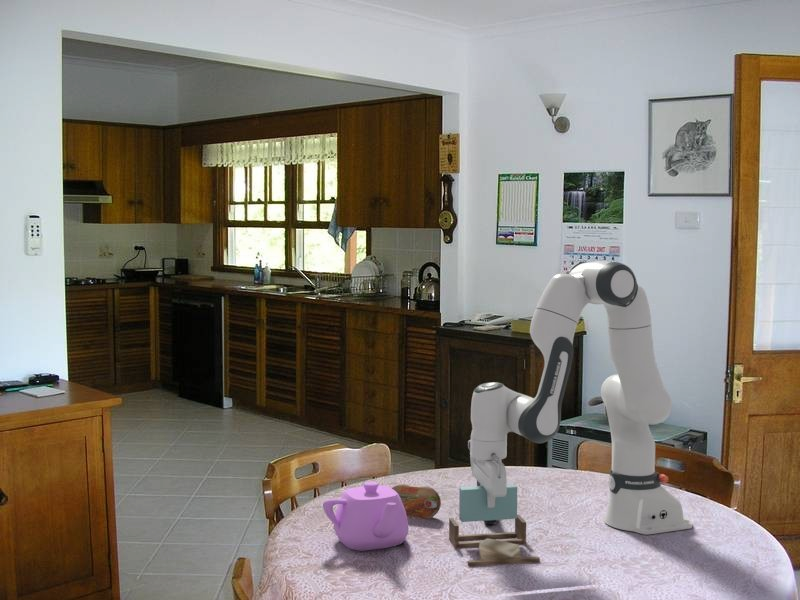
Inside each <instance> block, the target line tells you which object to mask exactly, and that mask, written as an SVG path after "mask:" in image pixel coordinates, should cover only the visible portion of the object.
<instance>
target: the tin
mask: <svg viewBox="0 0 800 600" xmlns="http://www.w3.org/2000/svg"><path fill="white" fill-rule="evenodd" d="M391 488H392V489H393V490H395V491H396V492H397V493H398V494H399V496H400V498H401V501H402V503H403V506H404V508H405V511H406V515H407V518H413V517H414V518H415V519H420V518H421V519H423V520H430V519H432V518H433V517H434V516H435V515H437V514H438V512H439V511H440V509H441V505H442V502H441V501H442V500H441V496H440V495H439V493H438V491H436V490H435V488H433V487H429V486H423V485H412V484H405V483H404V484H403V483H402V484H397V485H395V486H393V487H391Z"/></svg>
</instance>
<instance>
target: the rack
mask: <svg viewBox="0 0 800 600" xmlns="http://www.w3.org/2000/svg"><path fill="white" fill-rule="evenodd" d="M448 521H449V522H448V541H450V543H451V545H452V546H453V548H454V549H455V548H456V549H458V548H475V547H476V548H477V547H478V548H479V543H481V542H482V541H483V540H485V539H486V538H489V539H498V540H499V541H503V542H508V543H513V544H518V545H526V544H527V521H526V520H525V519H524V518H523V517H522V516H521V515H520V514H518V513H517V519H514V531H510V532H493V533H492V532H491V533H473V534H472V533H471V534H459V533H460V530H459V529H460V528H459V527H460V525H459V524H458V523H457V521H456V520H455V518H454V517H449V519H448ZM504 538H510V539H504ZM511 538H513V539H511ZM468 540H469V541H468ZM471 540H476V541H471ZM477 540H479V541H477ZM460 541H461V542H460ZM462 541H463V542H462ZM540 560H541V558H540V557H539V556H526V557H525V556H524V557H521V558H507V559H490V560H480V559H479V560H478V559H476V560H475V559H473V560H467V566H468V567H480V566H497V565H498V566H499V565H513V564H526V563H529V564H530V563H540V562H541V561H540Z"/></svg>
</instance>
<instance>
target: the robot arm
mask: <svg viewBox="0 0 800 600" xmlns="http://www.w3.org/2000/svg"><path fill="white" fill-rule="evenodd" d="M588 304H592V305H603V306H604V308H605V310H606V314H607V318H606V319H607V334H608V336H607V337H608V346H609V348H608V349H609V357H610V359H611V361H612V363H613V364H614V367H615V369H616V372H617V373H615V374H611V375H610V376H608V377H607V378H606V379H605V380H604V381H603V382H602V385H601V386H600V387H601V388H600V396H601V400H602V401H603V404H604V406H605V410H606V414H607V420H608V426H609V430H610V437H611V468H609V478H608V479H609V480H608V486H609V499H608V503H607V504H608V505H607V509H606V512H605V515H604V519H603V522H604V523H605V524H607V525H608V526H610V527H611V528H615V529H618V530H621V531H622V530H623V531H629V532H633V533H637V534H640V535H647V536H648V535H654V534H662V533H669V532H675V531H683V530H689V529H690V530H691V529H692V528H693V523H692V521H691V519H690V518H688V516H686V515H684V512H683V511H684V510H683V505H682V502H681V501H680V500H679V499H678V497H676V496H675V495H673V494H672V492H670V490H668V489H666V488H665V487H664V486H663V485H662V484H667V483H668V482H669V477H668V475H665V474H664V473H660V472H658V471H656V469H655V467H656V442H655V439H654V437H653V434H652V433H651V429H650V426H649V425H659V424H661V423H663V422H664V421H665V420H667V419H668V417H669V416H670V414H671V411H672V408H673V406H672V405H673V403H672V402H673V401H672V398H671V396H670V394H669V393H668V392H667V390H666V388H665V385H664V383H663V380H662V377H661V374H660V372H659V368H658V364H657V361H656V356H655V353H654V352H655V351H654V341H653V330H652V318H651V310H650V305H649V301H648V297H647V293H646V290H645V289H644V288H643V287H642V286H641V285H639V284H638V282H637V278H636V275H635V273H634V272H633V270H632V269H631V267H629V266H628V265H626V264H624V263H621V262H618V261H608V260H607V261H606V260H595V261H582V262H578V263H575V264H573V265H572V266H570V267H568V269H567V271H566V272H565V273H557V274H555V275H553V277H552V278H550V280H549V281H548V283H547V284H546V286H545V288H544V289H543V292H542V294H541V295H540V298H539V300H538V301H537V305H536V307H535V310H534V312H533V315H532V318H531V321H530V326H529V335H530V337H531V340H532V342H533V343H534V345H535V346H536V347H537V348H538V350H540V352H541V354H542V357H543V360H544V366H543V370H542V375H541V377H540V382H539V386H538V390H537V393H536V396H535V397H532V396H529V395H526V394H523V393H521V392H517V391H515V390H513V389H510V388H508V387H507V386H505V385H504V383H501V382H498V381H496V382H495V381H494V382H493V381H492V382H484V383H481V384H479V385H477V387H475V388H474V390H473V393H472V397H471V401H470V402H471V404H470V405H471V406H470V422H471V428H472V429H471V434H470V439H469V440H468V441H467V448H468V450H469V455H470V456H469V458H470V471H471V474H472V476H473V478H474V479H476V482H477V481H478V482H479V483H480V486H483V487H484V488H485V489H486V491H487V494H488V495H487V499H486V505H487V506H488V507H489V508H492V507H495V499H496V497H504V496H506V493H507V484H508V483H507V470H506V466H505V464H504V463H503V462H502V460H504V459H506V458H507V454H508V453H507V452H508V451H507V449H508V448H507V446H508V442H507V441H508V433H515V434H518V435H519V436H522V437H523V438H525V439H526V440H529V442H532V443H533V444H534V443H535V444H544V443H546V442H549V441H551V440H552V439H553V438H554V437H555V436H556V434H557V433H558V431H559V430H560V429H559V428H560V425H561V421H562V404H563V400H564V396H565V391H566V389H567V383H568V380H569V376H570V372H571V368H572V363H573V359H574V345H573V343H574V337H575V333H576V329H577V327H578V324H579V320H580V317H581V316H582V315H581V314H582V312H583V310H584V308H585V307H586V305H588ZM661 483H662V484H661Z"/></svg>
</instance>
